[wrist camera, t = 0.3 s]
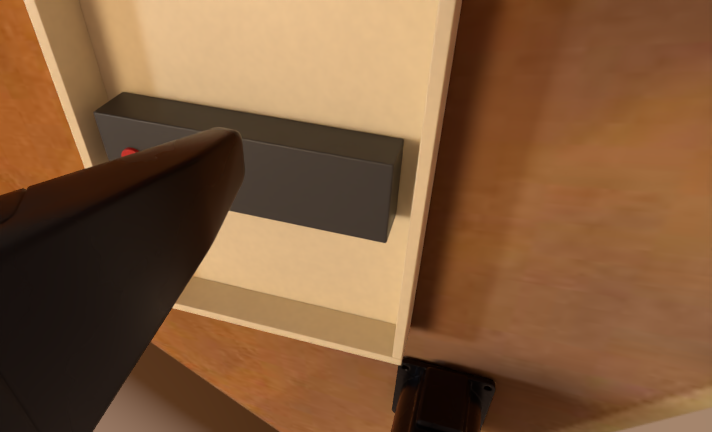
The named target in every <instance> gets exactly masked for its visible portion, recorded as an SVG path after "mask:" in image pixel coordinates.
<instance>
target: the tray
mask: <svg viewBox="0 0 712 432" xmlns="http://www.w3.org/2000/svg"><path fill="white" fill-rule="evenodd" d="M24 3H25V6H26V8H27V11H28V14H29V17H30V19H31V22H32V25H33V27H34V30H35V33H36V36H37V38H38V41H39V44H40V47H41V49H42V52H43V55H44V58H45V60H46V63H47V66H48V69H49V71H50V74H51V77H52V79H53V82H54V85H55V88H56V90H57V93H58V96H59V99H60V101H61V104H62V107H63V110H64V112H65V115H66V118H67V121H68V123H69V126H70V129H71V131H72V134H73V137H74V140H75V142H76V145H77V148H78V151H79V153H80V156H81V159H82V162H83V164H84V167H85V169H86V168H89V167H92V166H95V165H98V164H101V163H105V162H108V161H109V160H108V157H107V154H106V151H105V147H104V144H103V141H102V138H101V135H100V132H99V129H98V126H97V123H96V120H95V117H94V114H93V112H94V111H95V110H97V109H98V108H99V107H101V106H102V105H104V104H105V103H107V102H108V101H110V100H111V99H113V98H114V97H116V96H117V95H118V94H120V93H121V92H127V93H133V94H139V95H145V96H150V97H156V98H162V99H168V100H174V101H180V102H186V103H192V104H198V105H204V106H210V107H216V108H222V109H228V110H234V111H240V112H246V113H252V114H258V115H264V116H270V117H276V118H282V119H288V120H294V121H300V122H306V123H312V124H318V125H324V126H329V127H335V128H341V129H347V130H353V131H359V132H365V133H371V134H377V135H383V136H389V137H395V138H401V139H404V146H403V155H402V165H401V174H400V183H399V192H398V202H397V211H396V216H395V219H394V222H393V225H392V228H391V231H390V234H389V237H388V240H387V242H386V243H381V242H376V241H372V240H367V239H362V238H357V237H352V236H348V235H343V234H338V233H333V232H328V231H324V230H319V229H314V228H309V227H304V226H300V225H295V224H290V223H285V222H280V221H275V220H271V219H266V218H261V217H256V216H251V215H247V214H242V213H237V212H232V211H229V212H228V214H227V216H226V218H225V220H224V222H223V224H222V226H221V228H220V230H219V232H218V235H217V237H216V238H215V240H214V242H213V244H212V246H211V248H210V249H209V251H208V253H207V254H206V256H205V258H204V259H203V261H202V262H201V264H200V265H199V267H198V268H197V270H196V272H195V273H194V275H193V276H192V278H191V279H190V281H189V282H188V284H187V286H186V287H185V289H184V290H183V292H182V293H181V295H180V296H179V298H178V300H177V301H176V303H175V304H174V306H173V307H172V308H174V309H178V310H182V311H186V312H190V313H194V314H198V315H202V316H206V317H210V318H214V319H218V320H222V321H226V322H230V323H234V324H238V325H242V326H246V327H250V328H254V329H258V330H262V331H266V332H269V333H273V334H277V335H281V336H285V337H289V338H293V339H297V340H301V341H305V342H309V343H313V344H317V345H321V346H325V347H329V348H333V349H337V350H341V351H345V352H349V353H353V354H357V355H361V356H365V357H369V358H372V359H376V360H380V361H384V362H388V363H392V364H396V365H401V363H402V359H403V355H404V351H405V347H406V343H407V339H408V334H409V330H410V326H411V319H412V313H413V307H414V301H415V294H416V288H417V282H418V275H419V269H420V263H421V257H422V250H423V244H424V238H425V231H426V225H427V219H428V213H429V206H430V200H431V194H432V187H433V181H434V175H435V169H436V162H437V156H438V150H439V143H440V137H441V131H442V125H443V118H444V112H445V106H446V99H447V93H448V87H449V81H450V74H451V68H452V62H453V55H454V49H455V43H456V37H457V30H458V24H459V18H460V11H461V5H462V0H24Z"/></svg>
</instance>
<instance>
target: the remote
mask: <svg viewBox="0 0 712 432" xmlns="http://www.w3.org/2000/svg"><path fill="white" fill-rule="evenodd" d="M93 114H94V117H95V120H96V123H97V126H98V129H99V132H100V135H101V138H102V141H103V144H104V147H105V151H106V154H107V157H108V160H109V161H111V160H114V159H117V158H120V157H124V156H127V155H130V154H133V153H136V152H139V151H142V150H146V149H149V148H152V147H155V146H158V145H161V144H165V143H168V142H171V141H174V140H177V139H180V138H183V137H187V136H190V135H193V134H196V133H199V132H202V131H205V130H209V129H212V128H215V127H222V128H227V129H232V130H236V131H238V132H239V133H240V134H241V137H242V143H243V153H244V164H245V176H244V180H243V183H242V185H241V187H240V189H239V191H238V193H237V195H236V197H235V199H234V201H233V203H232V206H231V208H230V210H229V211H232V212H237V213H242V214H247V215H251V216H256V217H261V218H266V219H271V220H275V221H280V222H285V223H290V224H295V225H300V226H304V227H309V228H314V229H319V230H324V231H328V232H333V233H338V234H343V235H348V236H352V237H357V238H362V239H367V240H372V241H376V242H381V243H386V242H387V240H388V237H389V234H390V231H391V228H392V225H393V222H394V219H395V216H396V211H397V202H398V192H399V183H400V174H401V165H402V155H403V146H404V139H401V138H395V137H389V136H383V135H377V134H371V133H365V132H359V131H353V130H347V129H341V128H335V127H329V126H324V125H318V124H312V123H306V122H300V121H294V120H288V119H282V118H276V117H270V116H264V115H258V114H252V113H246V112H240V111H234V110H228V109H222V108H216V107H210V106H204V105H198V104H192V103H186V102H180V101H174V100H168V99H162V98H156V97H150V96H145V95H139V94H133V93H127V92H121V93H120V94H118V95H117V96H116V97H114V98H113V99H111V100H110V101H108V102H107V103H105V104H104V105H102V106H101V107H99V108H98V109H97V110H95V111H94V112H93Z"/></svg>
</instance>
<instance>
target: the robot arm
mask: <svg viewBox="0 0 712 432" xmlns="http://www.w3.org/2000/svg"><path fill="white" fill-rule="evenodd" d="M244 176H245V164H244V153H243V143H242V137H241V134H240V133H239V132H238V131H236V130H232V129H227V128H222V127H215V128H212V129H209V130H205V131H202V132H199V133H196V134H193V135H190V136H187V137H183V138H180V139H177V140H174V141H171V142H168V143H165V144H161V145H158V146H155V147H152V148H149V149H146V150H142V151H139V152H136V153H133V154H130V155H127V156H124V157H120V158H117V159H114V160H111V161H108V162H105V163H101V164H98V165H95V166H92V167H89V168H86V169H83V170H79V171H76V172H73V173H70V174H67V175H64V176H61V177H57V178H54V179H51V180H48V181H45V182H42V183H38V184H35V185H32V186H29V187H28V188H27V190H26V189H19V190H16V191H13V192H10V193H7V194H3V195H0V432H93V430H94V429H95V427H96V425H97V424H98V423H99V421H100V419H101V418H102V416H103V415H104V413H105V412H106V410H107V409H108V407H109V406H110V404H111V402H112V401H113V399H114V398H115V396H116V395H117V393H118V391H119V390H120V388H121V387H122V385H123V384H124V382H125V380H126V379H127V377H128V376H129V374H130V373H131V371H132V370H133V368H134V367H135V365H136V363H137V362H138V360H139V359H140V357H141V355H142V354H143V353H144V351H145V349H146V348H147V346H148V345H149V343H150V342H151V340H152V339H153V337H154V335H155V334H156V332H157V331H158V329H159V328H160V326H161V325H162V323H163V321H164V320H165V318H166V317H167V315H168V314H169V312H170V311H171V309H172V307H173V306H174V304H175V303H176V301H177V300H178V298H179V296H180V295H181V293H182V292H183V290H184V289H185V287H186V286H187V284H188V282H189V281H190V279H191V278H192V276H193V275H194V273H195V272H196V270H197V268H198V267H199V265H200V264H201V262H202V261H203V259H204V258H205V256H206V254H207V253H208V251H209V249H210V248H211V246H212V244H213V242H214V240H215V238H216V237H217V235H218V232H219V230H220V228H221V226H222V224H223V222H224V220H225V218H226V216H227V214H228V212H229V210H230V208H231V206H232V203H233V201H234V199H235V197H236V195H237V193H238V191H239V189H240V187H241V185H242V183H243V180H244ZM495 387H496V383H495V382H494V381H493V380H491V379H487V378H483V377H479V376H475V375H471V374H467V373H463V372H459V371H455V370H451V369H447V368H443V367H439V366H435V365H431V364H427V363H423V362H419V361H415V360H411V359H407V358H403V359H402V363H401V365H398V372H397V379H396V385H395V392H394V399H393V406H392V411H393V412H394V413H395V416H394V420H393V425H392V429H391V432H480V430H481V427H482V425H483V422H484V419H485V417H486V414H487V411H488V409H489V406H490V403H491V401H492V398H493V395H494V392H495Z"/></svg>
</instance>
